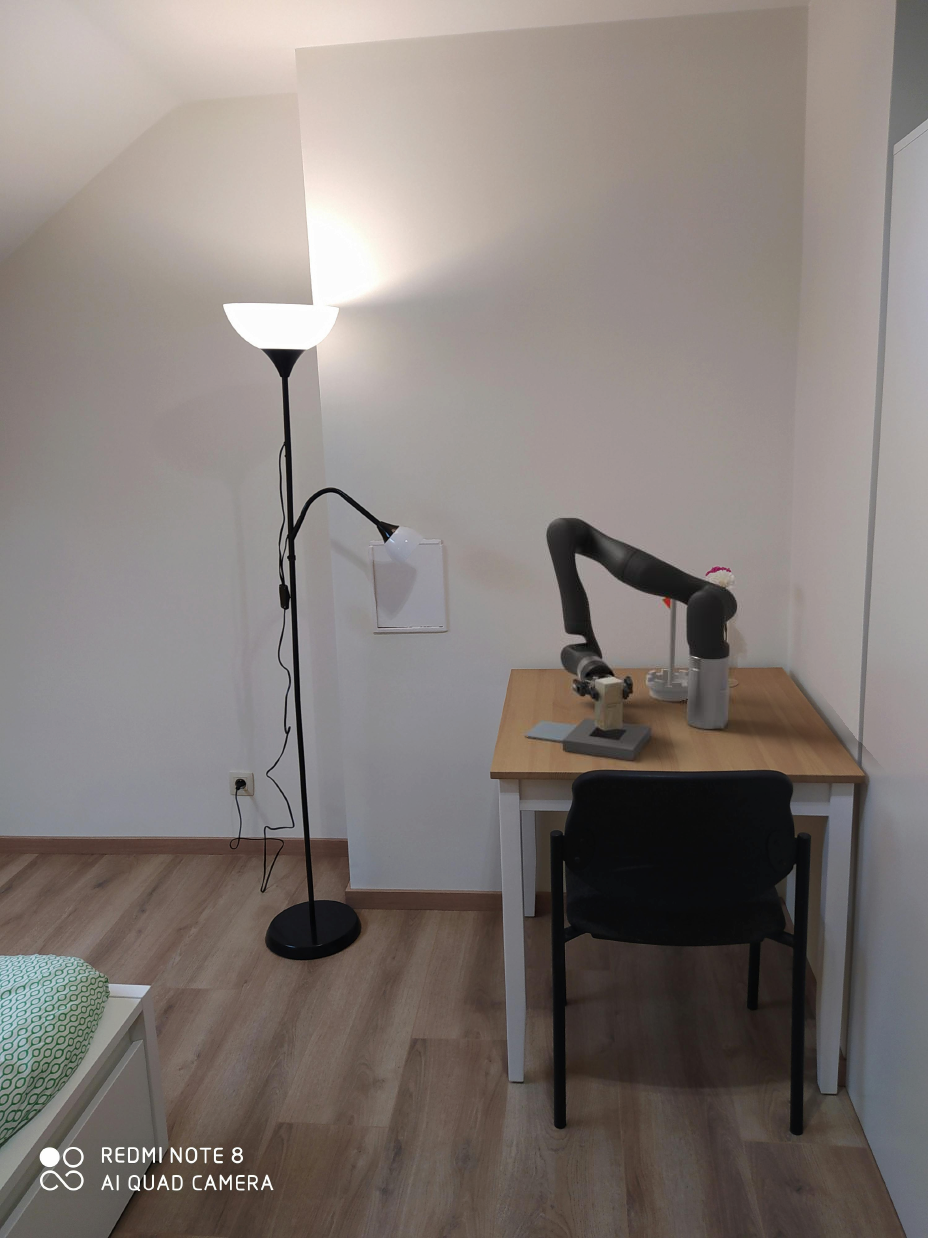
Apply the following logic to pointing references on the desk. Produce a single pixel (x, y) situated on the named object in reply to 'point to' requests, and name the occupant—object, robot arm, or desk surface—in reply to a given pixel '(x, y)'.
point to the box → (609, 703)
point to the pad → (551, 731)
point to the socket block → (607, 740)
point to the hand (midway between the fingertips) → (611, 696)
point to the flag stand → (667, 681)
